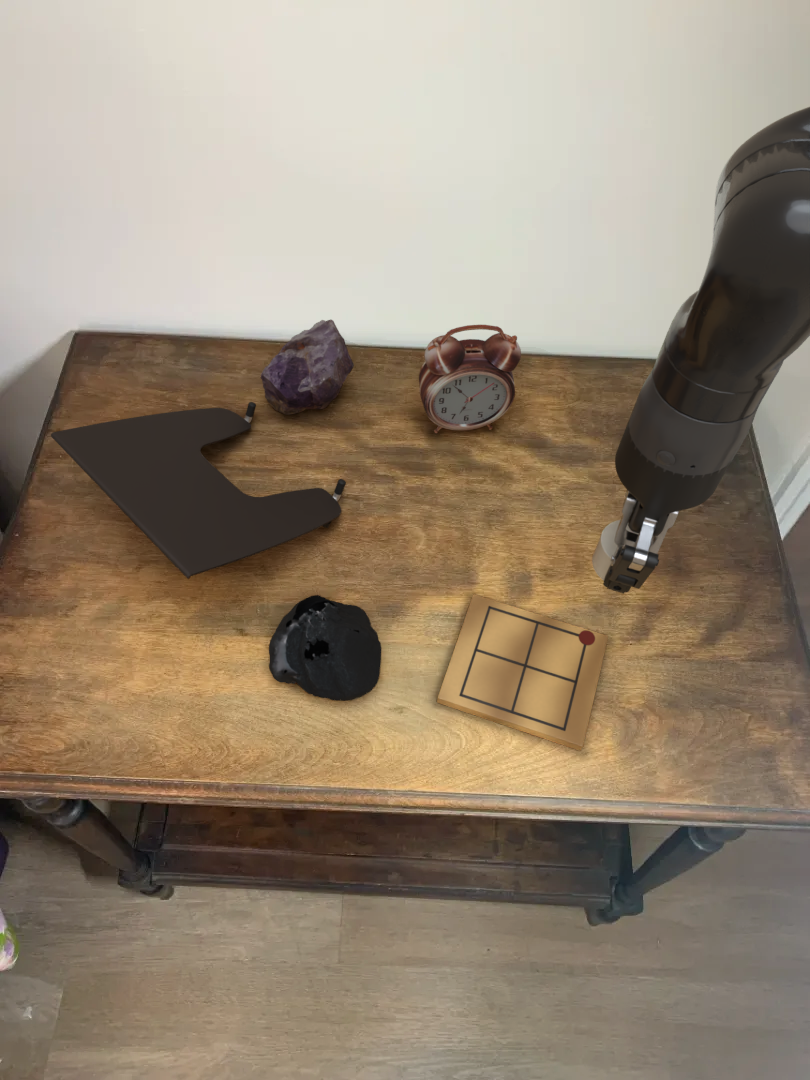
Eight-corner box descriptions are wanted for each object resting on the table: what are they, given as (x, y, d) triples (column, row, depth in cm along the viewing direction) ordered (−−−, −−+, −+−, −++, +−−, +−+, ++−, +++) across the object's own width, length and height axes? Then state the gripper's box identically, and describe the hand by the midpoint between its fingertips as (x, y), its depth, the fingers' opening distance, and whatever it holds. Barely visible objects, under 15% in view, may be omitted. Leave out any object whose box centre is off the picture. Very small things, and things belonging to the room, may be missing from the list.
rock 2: (320, 663, 85) (405, 665, 81) (268, 707, 77) (360, 712, 72) (302, 580, 83) (389, 578, 79) (247, 616, 75) (340, 616, 70)
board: (605, 641, 81) (608, 635, 80) (580, 751, 75) (583, 746, 74) (472, 599, 84) (473, 592, 82) (436, 702, 77) (437, 697, 76)
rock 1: (259, 406, 99) (321, 445, 96) (240, 360, 92) (307, 400, 88) (320, 344, 103) (382, 379, 99) (307, 295, 95) (374, 331, 92)
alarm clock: (420, 440, 95) (427, 344, 83) (414, 410, 98) (420, 312, 85) (511, 433, 96) (531, 337, 84) (503, 403, 99) (521, 306, 86)
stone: (651, 550, 71) (662, 528, 69) (641, 594, 69) (653, 574, 66) (597, 534, 72) (607, 512, 69) (586, 577, 70) (595, 556, 67)
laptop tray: (342, 562, 92) (368, 499, 87) (174, 632, 75) (194, 559, 70) (219, 448, 101) (235, 385, 96) (43, 488, 84) (52, 414, 79)
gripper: (726, 525, 52) (650, 645, 66) (750, 374, 59) (677, 510, 73) (610, 492, 53) (560, 616, 67) (648, 348, 60) (596, 487, 74)
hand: (621, 560), depth 70 cm, fingers closed on stone, 4 cm apart
